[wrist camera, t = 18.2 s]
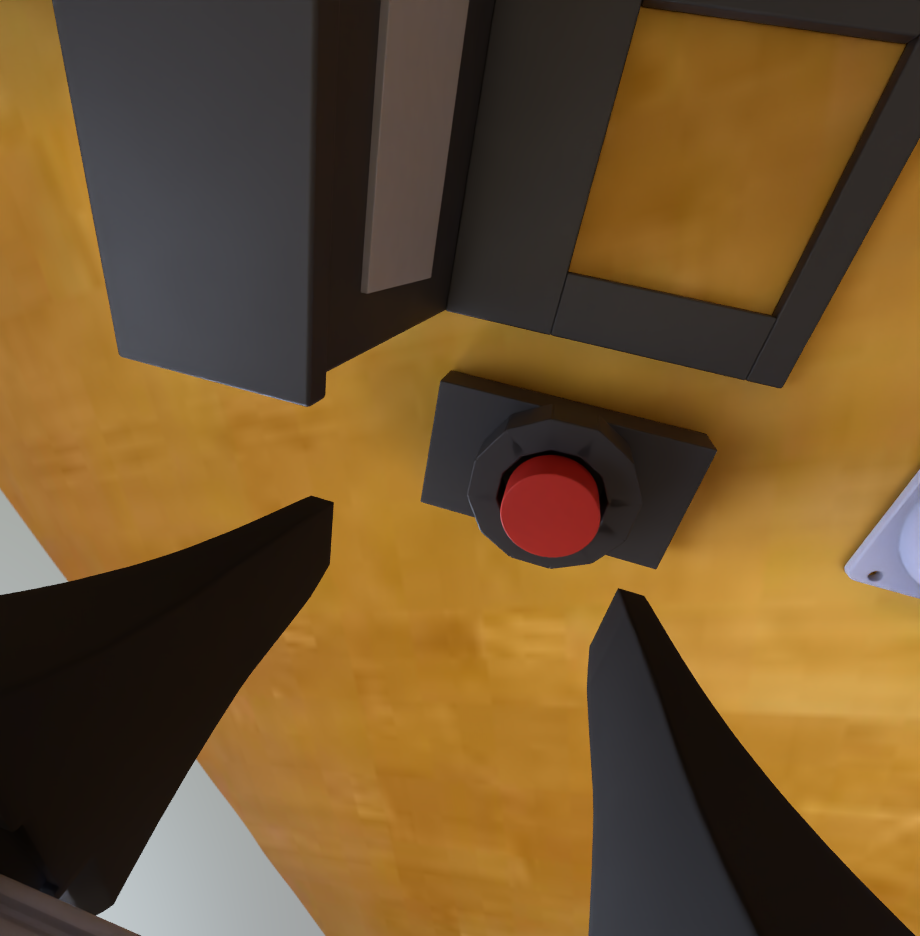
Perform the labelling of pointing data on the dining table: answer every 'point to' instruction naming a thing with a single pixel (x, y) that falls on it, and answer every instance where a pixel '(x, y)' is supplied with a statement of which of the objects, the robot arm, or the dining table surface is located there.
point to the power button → (551, 506)
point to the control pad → (570, 435)
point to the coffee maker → (407, 178)
